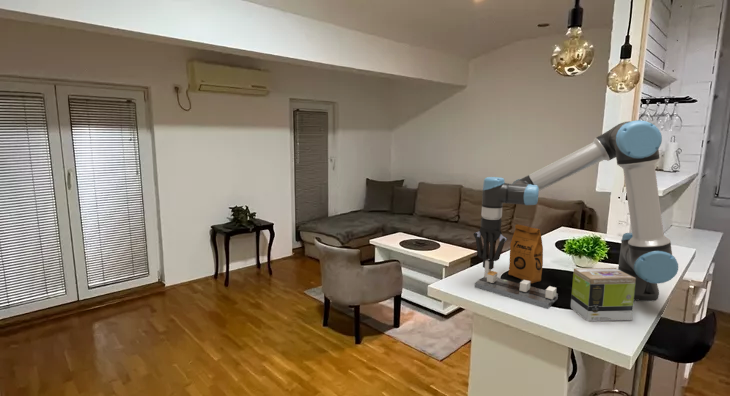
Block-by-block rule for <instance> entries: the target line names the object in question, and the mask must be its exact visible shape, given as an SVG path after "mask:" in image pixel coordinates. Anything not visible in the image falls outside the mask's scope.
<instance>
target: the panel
mask: <svg viewBox="0 0 730 396" xmlns="http://www.w3.org/2000/svg"><path fill="white" fill-rule="evenodd" d="M474 288H475V289H479V290H482V291H486V292H489V293H492V294H496V295H499V296H503V297H506V298H508V299H514V300H517V301H519V302H523V303H527V304H531V305H534V306H537V307H541V308H543V309H547V310H549V309H550V307H551V306H552V305H553V304H554V303H555V302H556V301H557V300H558V297H559V296H558V295H559V293H557V292H556V296H555V297H554V298H553V299H549V298H545V294H546V289H542V288H540V287H539V288H538V287H534V286H531V285H530V289H529V290H528V291H527V292H523V291H520V290H519V289H520V282H515V281H512V280H508V279H504V278H501V277H500V278H499V277H497V281H495V282H494V283H490V282H487V277H484V276H483V277H481V278H479V279H478V280H477V281H475V282H474Z"/></svg>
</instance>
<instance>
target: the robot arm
mask: <svg viewBox="0 0 730 396" xmlns="http://www.w3.org/2000/svg"><path fill="white" fill-rule="evenodd" d="M662 136H663V135H662V132H661V131H660V128H659V127H657V125H655V124H653V123H652V122H648V121H646V120H640V119H639V120H638V119H636V120H632V121H624V122H620V123H618V124H617V125H615V126H613V127H612V128H610V129H609V130H608V131H605V132H603V133H602V134H600V135H598V136H596V137H594V138H593V141H592V142H591V143H589V144H587V145H585V146H583V147H581V148H578V149H577V150H575V151H574V152H571V153H569V154H567V155H565V156H563V157H561V158H559V159H557V160H555V161H553V162H552V163H549V164H548V165H546V166H543V167H541V168H540V169H538V170H535V171H534V172H532V173H530V174H528V175H526V176H524V177H522V178H519V179H516V180H514V181H513V183H506V181H505V178H503V177H497V176H487V177H485V178H484V179H483V185H482V186H483V187H482V194H481V195H482V196H481V197H482V198H481V199H482V200H481V213H480V214H481V218H480V228H479V231H477V232H474V233H473V237H474V239H475V244H476V248H477V249H476V250H477V255H478V258H480V259H482V268H484V276H483V277H487V273H489V272H490V271H493V269H494V268H495V267H494V266H495V265H494V264H495V262H497V261H499V260H500V257H501V255H502V251H503V249H504V246H505V243H506V242H507V241H508V237H506V236H504V235H503V232H502V222H503V221H502V217H503V207H504V205H503V204H510V205H511V204H512V205H521V206H522V205H524V206H536V205H537V204H538V201H539V192H540V191H543V190H544V189H546V188H549V187H551V186H553V185H554V184H557V183H559V182H562V181H563V180H565V179H567V178H570V177H571V176H574V175H576V174H577V173H580V172H582V171H584V170H586V169H588V168H590V167H592V166H595V165H596V164H599V163H600V162H604V161H608V162H609V161H610V160H613V159H615V160H616V164H617V166H618V167H620V168H622V169H623V171H622V172H623V176H624V184H625V191H626V199H627V205H628V213H629V214H628V215H629V220H630V227H631V232H624V233H623V234H622V238H621V240H620V242H621V243H620V251H619V259H618V268H617V269H618V270H620V271H622V272H624V273H626V274H628V275H631V276H633V277H635V278H636V283H635V293H634V301H640V302H642V301H643V302H654V301H657V300H659V297H660V290H659V285H658V284H664V283H666V282H669V281H672V279H673V278H675V277H676V276H677V274H678V271H679V263H678V260H677V259H676V257H675V256H674V255H673V251H672V242H671V239H670V238H668V237H667V236H665V235H664V228H663V227H664V226H663V218H662V211H661V204H660V196H659V187H658V181H657V173H656V164H657V163H658V161H660V159H661V158H660V150H659V149H660V147H661V146H662V141H663V137H662ZM482 239H483V241H482ZM498 239H499V242H498V245H497V248H496V244H497V241H498Z"/></svg>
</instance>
